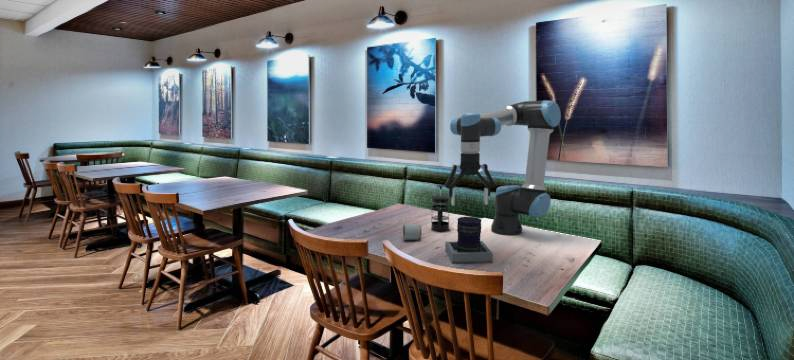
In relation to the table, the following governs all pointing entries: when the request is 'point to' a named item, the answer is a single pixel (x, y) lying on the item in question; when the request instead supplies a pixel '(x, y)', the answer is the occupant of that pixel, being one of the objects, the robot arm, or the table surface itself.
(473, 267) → the table surface
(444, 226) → the french press
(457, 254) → the tray
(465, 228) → the storage jar
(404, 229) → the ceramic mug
